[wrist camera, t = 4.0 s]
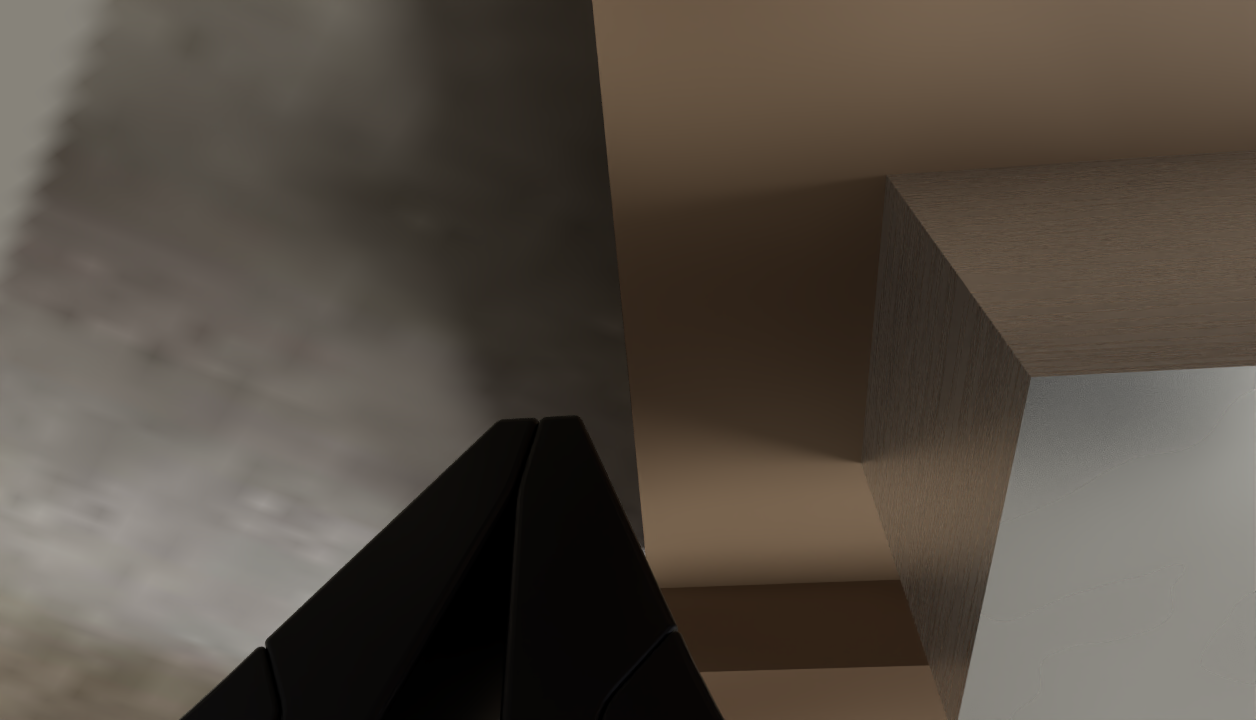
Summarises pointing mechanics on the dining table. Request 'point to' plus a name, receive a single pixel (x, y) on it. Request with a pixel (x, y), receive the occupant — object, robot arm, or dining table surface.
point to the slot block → (835, 278)
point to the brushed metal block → (1072, 434)
